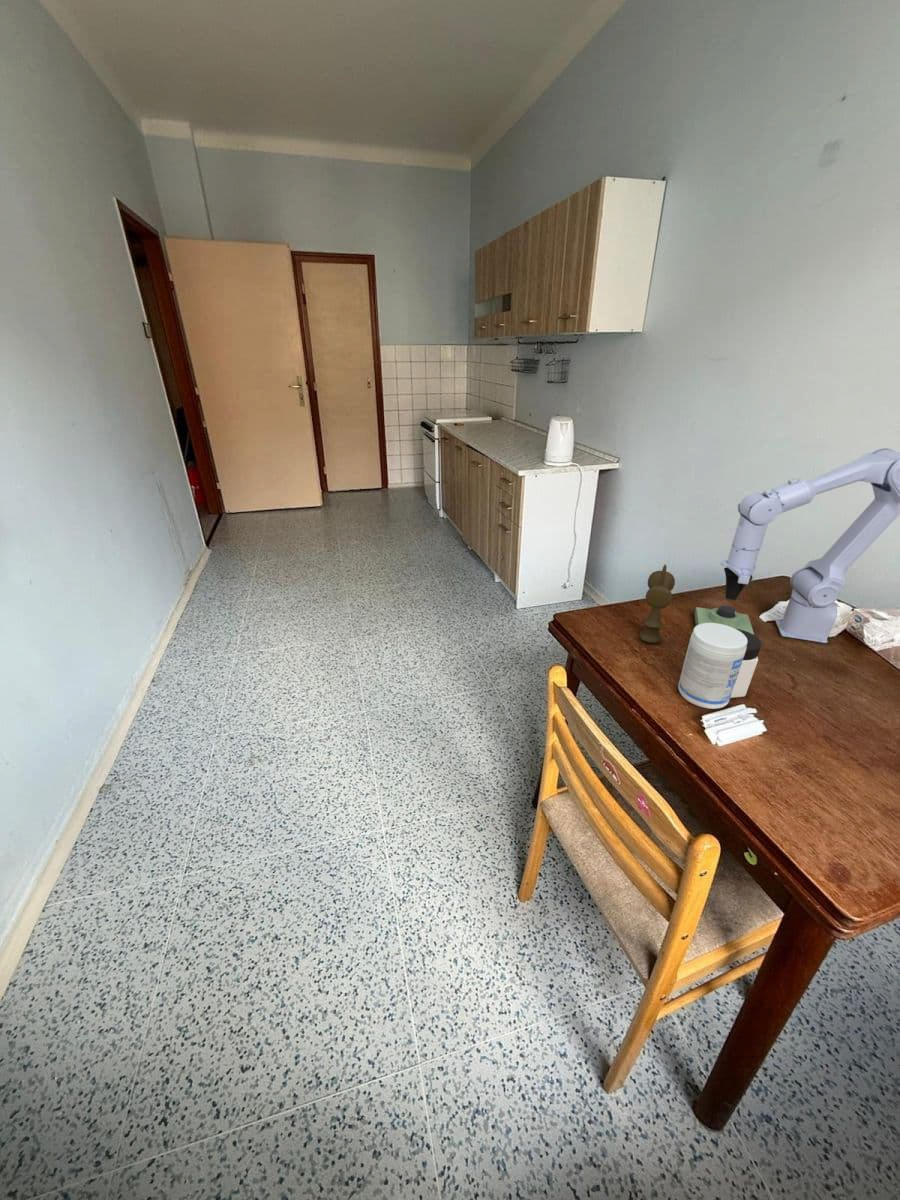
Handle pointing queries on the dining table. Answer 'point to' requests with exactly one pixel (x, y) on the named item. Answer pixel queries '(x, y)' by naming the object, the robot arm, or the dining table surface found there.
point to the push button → (726, 611)
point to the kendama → (657, 603)
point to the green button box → (723, 619)
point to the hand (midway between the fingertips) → (730, 598)
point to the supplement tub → (712, 665)
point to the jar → (747, 665)
